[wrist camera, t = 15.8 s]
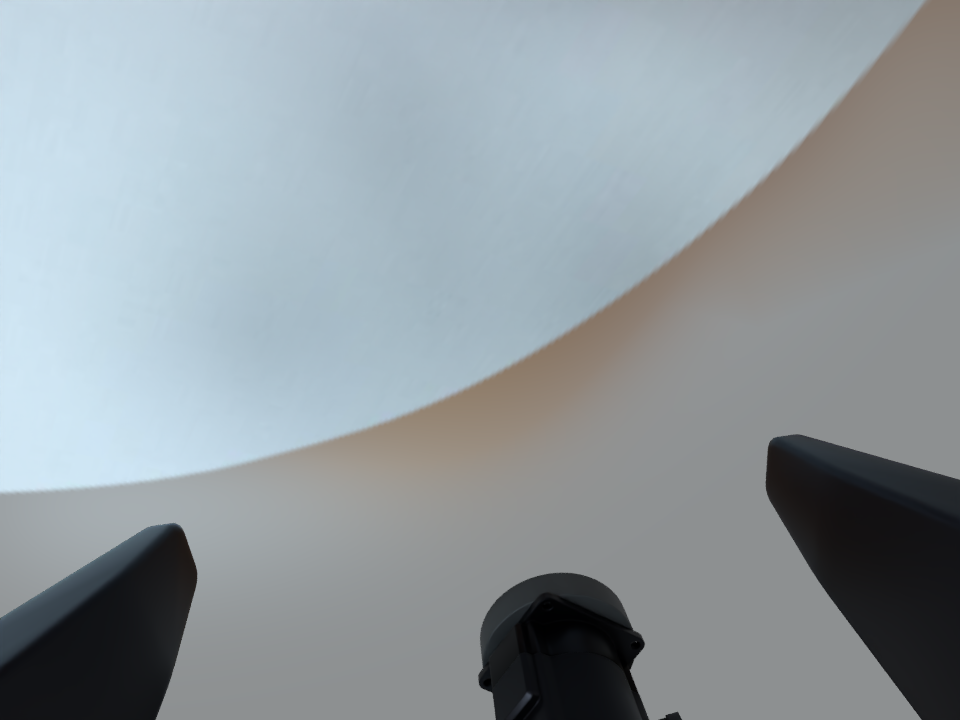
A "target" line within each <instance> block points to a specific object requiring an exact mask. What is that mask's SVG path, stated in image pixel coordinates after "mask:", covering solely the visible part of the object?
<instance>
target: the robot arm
mask: <svg viewBox="0 0 960 720" xmlns="http://www.w3.org/2000/svg"><path fill="white" fill-rule="evenodd" d="M766 491H767V495H768V497H769V500H770V502H771V503H772V505H773V507H774V508H775V510H776V512H777V513H778V515H779V517H780V518H781V520H782V522H783V523H784V525H785V527H786V528H787V530H788V532H789V533H790V535H791V537H792V538H793V540H794V542H795V543H796V545H797V546H798V548H799V550H800V552H801V553H802V555H803V557H804V558H805V560H806V562H807V563H808V565H809V567H810V568H811V570H812V572H813V573H814V574H815V576H816V578H817V579H818V581H819V582H820V584H821V585H822V587H823V588H824V589H825V591H826V592H827V594H828V595H829V596H830V598H831V599H832V600H833V602H834V603H835V604H836V606H837V607H838V609H839V610H840V611H841V613H842V614H843V615H844V617H845V618H846V619H847V620H848V622H849V623H850V625H851V626H852V627H853V628H854V630H855V631H856V633H857V634H858V635H859V636H860V638H861V639H862V640H863V642H864V643H865V645H866V646H867V647H868V648H869V650H870V651H871V653H872V654H873V655H874V657H875V658H876V659H877V661H878V662H879V663H880V665H881V666H882V667H883V669H884V670H885V671H886V672H887V674H888V675H889V677H890V678H891V679H892V681H893V682H894V683H895V685H896V686H897V687H898V689H899V690H900V691H901V692H902V694H903V695H904V696H905V698H906V699H907V701H908V702H909V703H910V705H911V706H912V707H913V709H914V710H915V711H916V712H917V714H918V715H919V717H920V718H921V719H922V720H960V480H958V479H955V478H951V477H948V476H944V475H941V474H937V473H933V472H930V471H927V470H923V469H920V468H916V467H913V466H909V465H906V464H902V463H898V462H895V461H891V460H888V459H884V458H881V457H877V456H874V455H870V454H867V453H863V452H860V451H856V450H853V449H849V448H846V447H842V446H838V445H835V444H832V443H828V442H825V441H821V440H817V439H814V438H810V437H807V436H803V435H788V436H781V437H776V438H773V439H772V440H771V441H770V443H769V446H768V456H767V472H766ZM196 583H197V569H196V565H195V562H194V560H193V556H192V554H191V551H190V548H189V545H188V542H187V539H186V536H185V533H184V531H183V529H182V528H181V526H180V525H178V524H175V523H170V524H163V525H156V526H151V527H148V528H146V529H144V530H142V531H141V532H139V533H137V534H136V535H134V536H133V537H131V538H129V539H128V540H126V541H124V542H123V543H121V544H120V545H118V546H116V547H115V548H113V549H111V550H110V551H109V552H107V553H105V554H104V555H102V556H100V557H98V558H97V559H95V560H94V561H92V562H90V563H89V564H87V565H86V566H84V567H82V568H81V569H79V570H77V571H76V572H74V573H73V574H71V575H69V576H68V577H66V578H65V579H63V580H61V581H60V582H58V583H56V584H55V585H53V586H51V587H50V588H49V589H47V590H45V591H43V592H42V593H40V594H39V595H37V596H35V597H34V598H32V599H30V600H29V601H27V602H26V603H24V604H22V605H21V606H19V607H18V608H16V609H14V610H13V611H11V612H9V613H8V614H6V615H5V616H3V617H1V618H0V720H155V719H156V717H157V714H158V712H159V709H160V706H161V704H162V701H163V699H164V696H165V693H166V690H167V688H168V685H169V682H170V679H171V676H172V672H173V669H174V666H175V662H176V658H177V655H178V651H179V647H180V644H181V640H182V636H183V632H184V628H185V625H186V621H187V618H188V613H189V610H190V607H191V603H192V599H193V595H194V592H195V588H196ZM546 602H550V603H549V604H544V603H546ZM633 642H635V643H633ZM644 646H645V642H644V640H643V638H642V635H641V634H640V633H638V632H636V631H634V630H632V629H630V628H627V627H625V626H623V625H621V624H619V623H616V622H614V621H612V620H610V619H607V618H605V617H603V616H601V615H599V614H596V613H594V612H592V611H590V610H588V609H585V608H583V607H581V606H579V605H577V604H574V603H572V602H570V601H568V600H566V599H563V598H561V597H559V596H557V595H555V594H552V593H549V592H544V593H542V594H540V595H539V596H538V597H537V598H536V599H535V601H534V602H533V603H532V605H531V606H530V607H529V608H528V610H527V611H526V612H525V614H524V615H523V616H522V618H521V619H520V620H519V622H518V623H517V624H515V625H514V626H513V627H512V628H511V630H510V631H509V632H508V634H507V635H506V636H505V638H504V639H503V640H502V641H501V643H500V644H499V645H498V647H497V648H496V649H495V651H494V652H493V653H492V655H491V656H490V657H489V661H488V662H487V663H486V665H485V666H484V667H483V669H482V670H481V671H480V673H479V675H478V681H479V685H480V687H481V688H482V689H484V690H487V691H489V692H492V693H493V699H494V707H495V716H496V720H649V719H648V716H647V713H646V711H645V708H644V706H643V703H642V701H641V698H640V695H639V693H638V690H637V688H636V685H635V682H634V680H633V677H632V675H631V672H630V669H629V667H628V666H629V665H630V664H631V663H632V661H633V660H634V659H635V658H636V657H637V655H638V654H639V653H640V652H641V651H642V650H643V648H644ZM486 679H489V680H486ZM660 720H682V719H681V717H680V715H679V713H678V712H675V713H672V714H668V715H666V718H664V719H660Z"/></svg>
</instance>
